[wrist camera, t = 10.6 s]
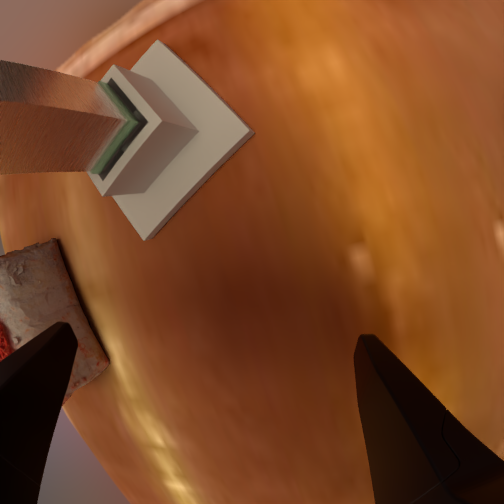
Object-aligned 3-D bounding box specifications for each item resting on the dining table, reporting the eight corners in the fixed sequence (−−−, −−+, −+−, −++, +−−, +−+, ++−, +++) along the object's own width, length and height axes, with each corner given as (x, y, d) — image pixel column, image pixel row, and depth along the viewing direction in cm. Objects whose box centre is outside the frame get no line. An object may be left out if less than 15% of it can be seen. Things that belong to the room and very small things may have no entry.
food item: (124, 372, 26) (49, 430, 17) (79, 378, 29) (14, 422, 19) (63, 231, 25) (-30, 253, 16) (28, 260, 28) (-48, 283, 18)
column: (145, 122, 15) (-96, 94, 3) (105, 176, 16) (-111, 197, 5) (112, 82, 15) (-88, 42, 3) (76, 133, 16) (-112, 130, 5)
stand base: (255, 133, 18) (214, 113, 13) (152, 238, 22) (94, 255, 16) (165, 44, 19) (113, 14, 13) (86, 143, 22) (29, 140, 17)
